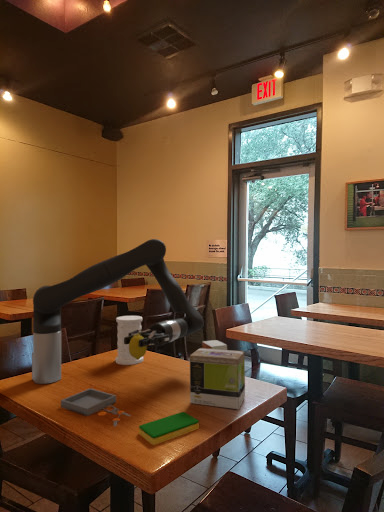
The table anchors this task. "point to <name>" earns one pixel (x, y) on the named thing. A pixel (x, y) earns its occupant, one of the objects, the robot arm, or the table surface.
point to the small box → (214, 345)
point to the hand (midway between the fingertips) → (132, 342)
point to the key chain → (114, 413)
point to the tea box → (217, 378)
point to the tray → (88, 401)
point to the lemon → (136, 347)
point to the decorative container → (125, 327)
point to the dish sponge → (168, 427)
